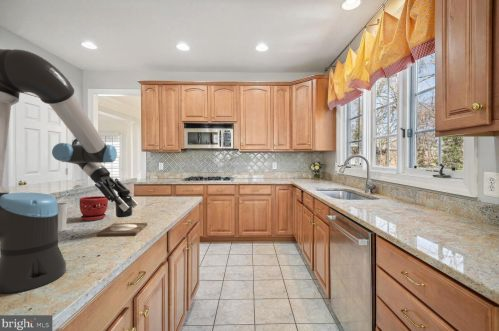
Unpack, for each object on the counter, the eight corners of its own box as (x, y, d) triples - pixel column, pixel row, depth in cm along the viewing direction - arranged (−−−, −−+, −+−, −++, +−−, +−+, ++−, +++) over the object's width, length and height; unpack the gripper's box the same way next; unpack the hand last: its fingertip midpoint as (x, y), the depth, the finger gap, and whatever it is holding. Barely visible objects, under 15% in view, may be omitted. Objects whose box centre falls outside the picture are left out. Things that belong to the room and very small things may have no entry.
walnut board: (135, 235, 103) (135, 232, 103) (96, 236, 101) (96, 233, 101) (147, 225, 119) (147, 222, 119) (113, 226, 117) (113, 223, 117)
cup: (55, 232, 106) (55, 206, 106) (41, 231, 108) (41, 205, 107) (72, 227, 114) (72, 202, 114) (58, 226, 115) (58, 202, 115)
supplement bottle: (129, 213, 115) (129, 188, 115) (134, 216, 110) (134, 190, 110) (113, 215, 110) (113, 190, 110) (118, 218, 106) (117, 191, 105)
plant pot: (103, 221, 127) (103, 198, 126) (75, 222, 123) (75, 199, 123) (111, 215, 139) (111, 195, 139) (85, 216, 136) (85, 195, 136)
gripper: (106, 176, 121) (137, 208, 120) (75, 179, 101) (112, 218, 100) (116, 165, 120) (147, 198, 120) (86, 167, 100) (124, 206, 100)
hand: (131, 207), depth 110 cm, fingers closed on supplement bottle, 7 cm apart
